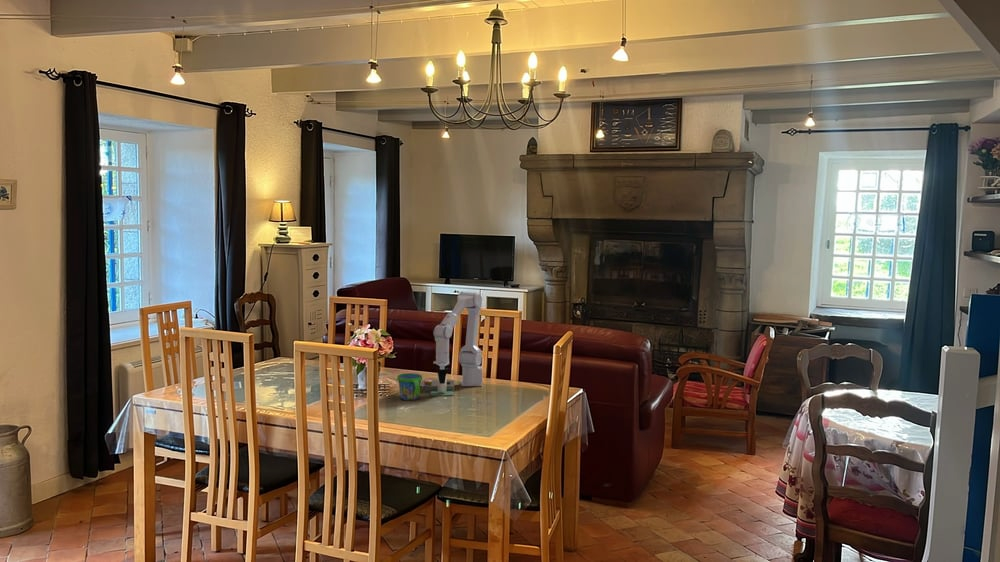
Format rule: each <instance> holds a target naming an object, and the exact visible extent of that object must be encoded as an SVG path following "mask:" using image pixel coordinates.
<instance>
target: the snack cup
mask: <svg viewBox="0 0 1000 562" xmlns="http://www.w3.org/2000/svg"><path fill="white" fill-rule="evenodd" d="M396 378H397V381H398V386H399V387H398V388H399V396H400V399H401V400H403V401H416V400H417V399H419V396H420V394H421V384H422V380H423V376H422V375H421V374H419V373H401V374H399V375H398V374H397V376H396Z"/></svg>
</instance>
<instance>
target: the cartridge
mask: <svg viewBox="0 0 1000 562" xmlns="http://www.w3.org/2000/svg"><path fill="white" fill-rule="evenodd" d="M447 375H448V373H447V374H446V379H445V383H444V384H440V382H439V376H438V375H437V380H438V389H437V391H438V392H446V388H447V380H448V379H447V378H448V377H447Z"/></svg>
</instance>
